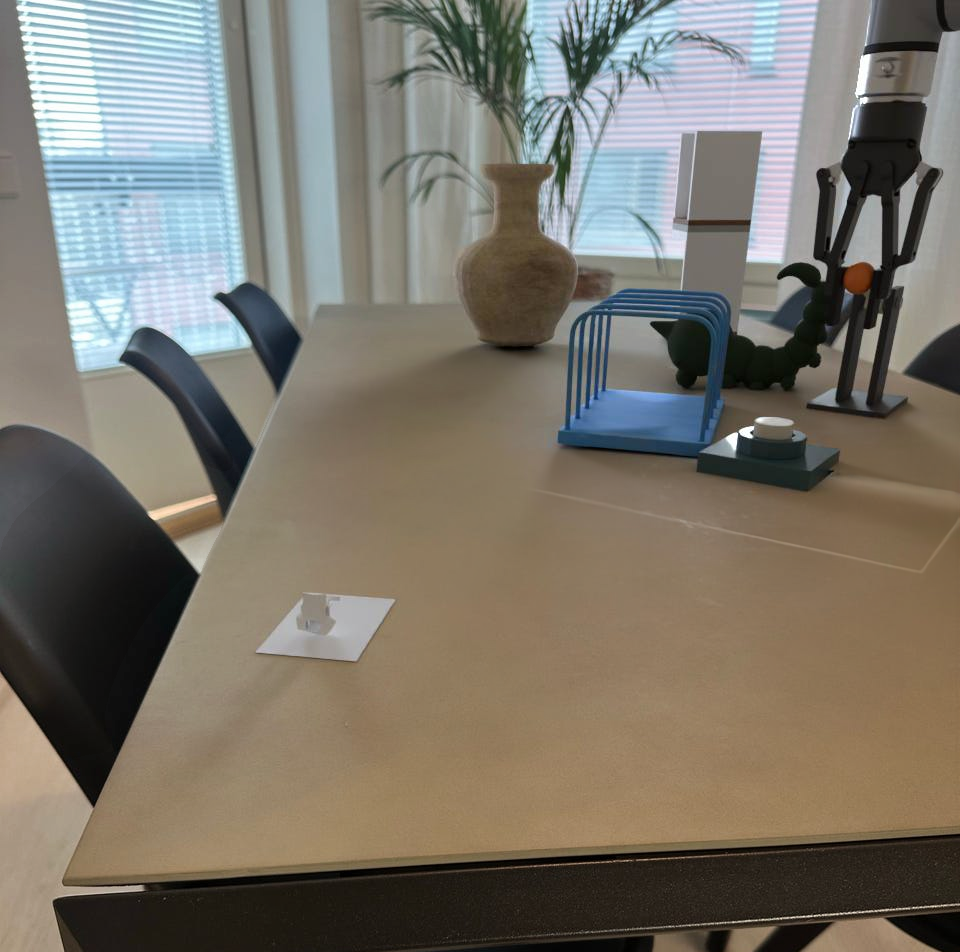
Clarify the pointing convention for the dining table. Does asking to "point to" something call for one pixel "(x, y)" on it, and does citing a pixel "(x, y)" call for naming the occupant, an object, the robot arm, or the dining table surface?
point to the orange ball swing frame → (874, 399)
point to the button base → (769, 460)
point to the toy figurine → (742, 356)
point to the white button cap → (773, 428)
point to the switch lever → (861, 281)
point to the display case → (716, 211)
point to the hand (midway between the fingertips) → (850, 325)
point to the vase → (515, 264)
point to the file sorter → (647, 414)
